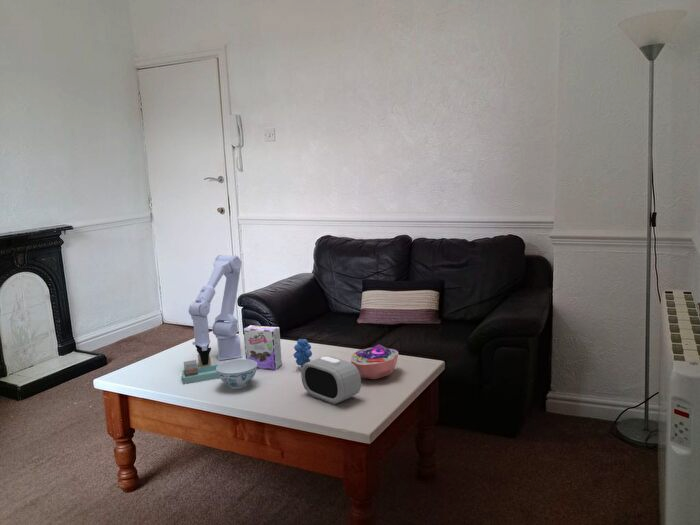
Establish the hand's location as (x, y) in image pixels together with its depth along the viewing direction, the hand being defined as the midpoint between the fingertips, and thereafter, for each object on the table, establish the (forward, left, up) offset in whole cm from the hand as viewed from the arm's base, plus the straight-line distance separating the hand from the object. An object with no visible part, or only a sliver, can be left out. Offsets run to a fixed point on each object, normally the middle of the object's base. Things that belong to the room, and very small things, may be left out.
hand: (204, 362), depth 235 cm
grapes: (-37, +20, -2) cm, 42 cm away
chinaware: (-9, +27, -2) cm, 28 cm away
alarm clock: (-37, +53, -2) cm, 65 cm away
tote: (+2, +11, -2) cm, 11 cm away
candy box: (-22, +11, -2) cm, 25 cm away
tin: (+6, +11, -2) cm, 12 cm away
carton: (0, 0, -1) cm, 1 cm away
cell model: (-58, +42, -2) cm, 72 cm away
